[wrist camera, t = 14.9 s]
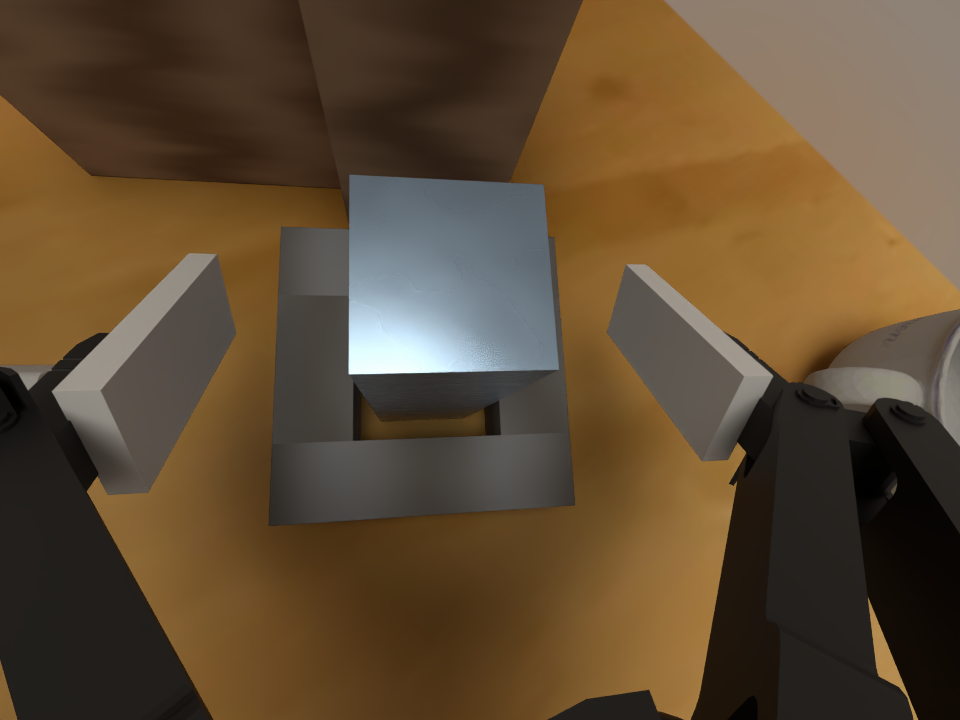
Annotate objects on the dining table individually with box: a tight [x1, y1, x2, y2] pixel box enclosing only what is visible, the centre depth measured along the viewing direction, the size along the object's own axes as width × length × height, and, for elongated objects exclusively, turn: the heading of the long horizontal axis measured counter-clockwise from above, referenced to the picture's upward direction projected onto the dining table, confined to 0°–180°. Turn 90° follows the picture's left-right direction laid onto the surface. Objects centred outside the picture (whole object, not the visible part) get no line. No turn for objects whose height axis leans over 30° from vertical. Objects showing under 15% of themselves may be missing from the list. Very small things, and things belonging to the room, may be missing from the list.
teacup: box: [803, 309, 960, 494], centre depth 22 cm, size 14×11×8 cm
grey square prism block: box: [349, 175, 559, 421], centre depth 16 cm, size 4×4×14 cm
